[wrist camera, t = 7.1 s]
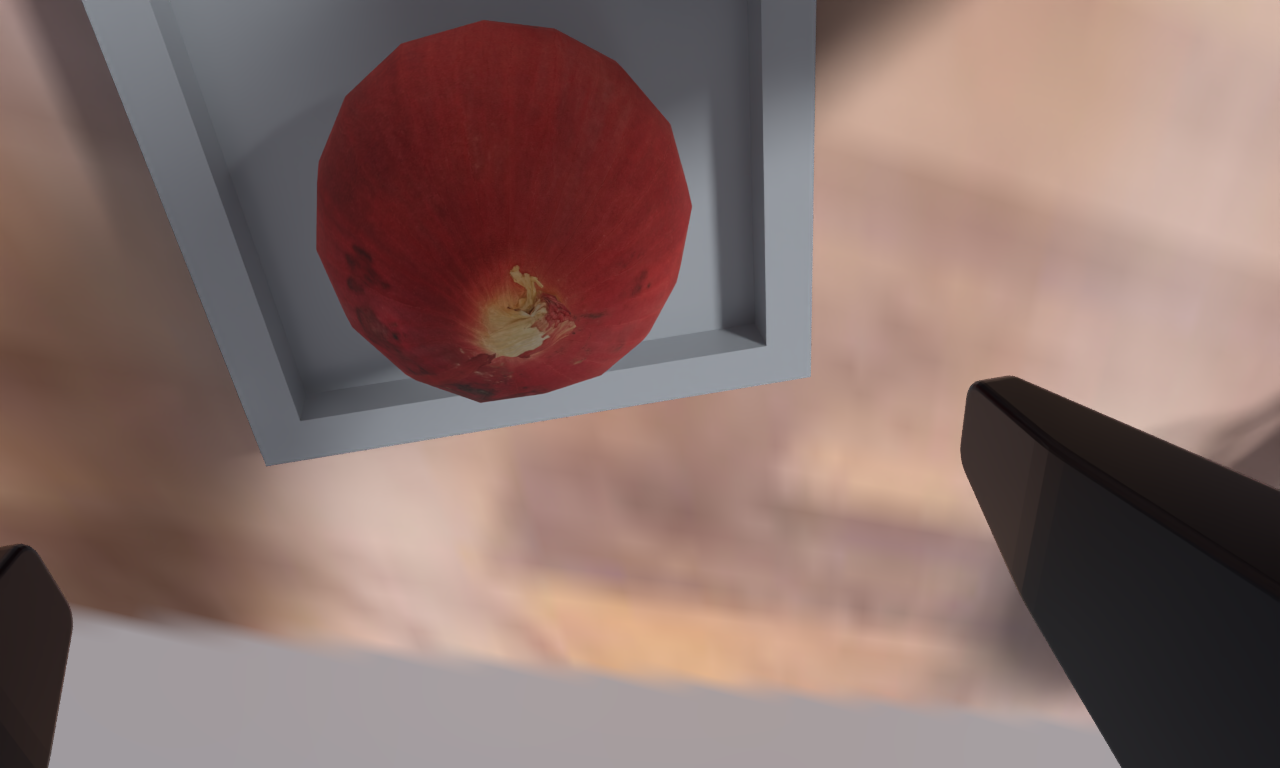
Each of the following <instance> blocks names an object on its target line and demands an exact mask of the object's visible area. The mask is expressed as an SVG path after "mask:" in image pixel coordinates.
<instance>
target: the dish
mask: <svg viewBox="0 0 1280 768" xmlns="http://www.w3.org/2000/svg"><path fill="white" fill-rule="evenodd" d="M82 3H83V5H84V8H85V10H86V13H87V15H88V18H89V20H90V23H91V25H92V28H93V30H94V33H95V35H96V38H97V40H98V43H99V46H100V48H101V51H102V53H103V56H104V58H105V61H106V63H107V66H108V68H109V71H110V73H111V76H112V78H113V81H114V83H115V86H116V88H117V91H118V93H119V96H120V98H121V101H122V103H123V106H124V109H125V111H126V114H127V116H128V119H129V121H130V124H131V126H132V129H133V131H134V134H135V136H136V139H137V141H138V144H139V146H140V149H141V151H142V154H143V156H144V159H145V161H146V164H147V167H148V169H149V172H150V174H151V177H152V179H153V182H154V184H155V187H156V189H157V192H158V194H159V197H160V199H161V202H162V204H163V207H164V209H165V212H166V214H167V217H168V219H169V222H170V225H171V227H172V230H173V232H174V235H175V237H176V240H177V242H178V245H179V247H180V250H181V252H182V255H183V257H184V260H185V262H186V265H187V267H188V270H189V272H190V275H191V277H192V280H193V282H194V285H195V288H196V290H197V293H198V295H199V298H200V300H201V303H202V305H203V308H204V310H205V313H206V315H207V318H208V320H209V323H210V325H211V328H212V330H213V333H214V335H215V338H216V340H217V343H218V346H219V348H220V351H221V353H222V356H223V358H224V361H225V363H226V366H227V368H228V371H229V373H230V376H231V378H232V381H233V383H234V386H235V388H236V391H237V393H238V396H239V398H240V401H241V404H242V406H243V409H244V411H245V414H246V416H247V419H248V421H249V424H250V426H251V429H252V431H253V434H254V436H255V439H256V441H257V444H258V446H259V449H260V451H261V454H262V456H263V459H264V462H265V464H266V466H271V465H277V464H283V463H289V462H295V461H301V460H307V459H314V458H320V457H326V456H332V455H338V454H344V453H350V452H356V451H362V450H368V449H374V448H380V447H387V446H393V445H399V444H405V443H411V442H417V441H423V440H429V439H435V438H441V437H447V436H453V435H460V434H466V433H472V432H478V431H484V430H490V429H496V428H502V427H508V426H514V425H520V424H526V423H533V422H539V421H545V420H551V419H557V418H563V417H569V416H575V415H581V414H587V413H593V412H599V411H606V410H612V409H618V408H624V407H630V406H636V405H642V404H648V403H654V402H660V401H666V400H673V399H679V398H685V397H691V396H697V395H703V394H709V393H715V392H721V391H727V390H733V389H739V388H746V387H752V386H758V385H764V384H770V383H776V382H782V381H788V380H794V379H800V378H806V377H811V317H812V252H813V187H814V122H815V57H816V0H82ZM481 20H489V21H497V22H505V23H514V24H522V25H530V26H539V27H547V28H555V29H557V30H559V31H560V32H562V33H564V34H566V35H568V36H570V37H572V38H574V39H575V40H577V41H579V42H581V43H583V44H585V45H587V46H589V47H590V48H592V49H594V50H596V51H598V52H600V53H602V54H604V55H605V56H607V57H609V58H611V59H613V60H615V61H616V62H617V63H618V64H619V65H620V66H621V67H622V68H623V69H624V70H625V71H626V72H627V74H628V75H629V76H630V77H631V78H632V79H633V81H634V82H635V83H636V84H637V85H638V87H639V88H640V89H641V90H642V91H643V92H644V94H645V95H646V96H647V97H648V98H649V99H650V101H651V102H652V103H653V104H654V105H655V106H656V108H657V109H658V110H659V111H660V112H661V114H662V115H663V116H664V117H665V118H666V119H667V121H668V122H669V123H670V124H671V128H672V132H673V135H674V139H675V142H676V146H677V150H678V153H679V157H680V161H681V164H682V168H683V171H684V175H685V179H686V182H687V186H688V190H689V194H690V199H691V203H692V210H691V215H690V220H689V225H688V231H687V236H686V241H685V246H684V251H683V256H682V261H681V267H680V271H679V275H678V279H677V283H676V284H675V286H674V288H673V290H672V292H671V294H670V296H669V297H668V299H667V301H666V303H665V305H664V307H663V308H662V310H661V312H660V314H659V316H658V318H657V319H656V321H655V323H654V325H653V327H652V329H651V330H650V332H649V334H648V335H647V336H646V337H645V339H644V340H643V341H642V342H641V343H639V344H638V345H637V346H636V347H635V348H633V349H632V350H631V351H630V352H629V353H627V354H626V355H625V356H624V357H623V358H621V359H620V360H619V361H618V362H617V363H615V364H614V365H613V366H612V367H611V368H609V369H608V370H607V371H606V372H604V373H603V374H602V375H601V376H598V377H595V378H592V379H588V380H585V381H582V382H579V383H576V384H573V385H570V386H567V387H564V388H561V389H558V390H554V391H551V392H548V393H545V394H539V395H532V396H525V397H518V398H511V399H504V400H497V401H490V402H483V403H479V402H476V401H473V400H471V399H468V398H465V397H462V396H459V395H456V394H453V393H451V392H448V391H445V390H442V389H439V388H436V387H433V386H430V385H428V384H425V383H422V382H419V381H416V380H414V379H413V378H411V377H409V376H407V375H406V374H405V373H403V372H402V371H401V370H400V369H399V368H398V367H397V366H395V365H394V364H393V363H392V362H391V361H390V360H389V359H388V358H386V357H385V356H384V355H383V354H382V353H381V352H380V351H378V350H377V349H376V348H375V347H374V346H373V345H372V344H371V343H369V342H368V341H367V340H366V339H365V338H364V337H363V336H361V335H360V334H359V333H358V332H357V331H356V330H355V329H354V328H352V326H351V324H350V322H349V320H348V318H347V317H346V315H345V313H344V311H343V308H342V306H341V304H340V302H339V299H338V297H337V295H336V293H335V290H334V288H333V286H332V284H331V282H330V279H329V277H328V275H327V273H326V270H325V268H324V266H323V264H322V261H321V259H320V257H319V255H318V253H317V250H316V224H317V176H318V164H319V160H320V157H321V155H322V152H323V150H324V147H325V145H326V142H327V140H328V137H329V135H330V133H331V130H332V128H333V125H334V123H335V120H336V118H337V115H338V113H339V110H340V108H341V105H342V103H343V100H344V98H345V96H346V95H347V94H348V93H349V92H350V91H351V90H352V89H354V88H355V87H356V86H357V85H358V84H359V83H360V82H361V81H362V80H363V79H364V78H365V77H366V76H367V75H368V74H369V73H370V72H372V71H373V70H374V69H375V68H376V67H377V66H378V65H379V64H380V63H381V62H382V61H383V60H384V59H385V58H386V57H387V56H388V55H390V54H391V53H392V52H393V51H394V50H395V49H396V48H397V47H398V46H399V45H400V44H401V43H405V42H408V41H412V40H415V39H418V38H422V37H425V36H429V35H432V34H436V33H439V32H443V31H446V30H450V29H453V28H457V27H460V26H464V25H467V24H471V23H474V22H478V21H481Z"/></svg>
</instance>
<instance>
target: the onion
mask: <svg viewBox="0 0 1280 768" xmlns="http://www.w3.org/2000/svg"><path fill="white" fill-rule="evenodd" d="M691 210H692V203H691V199H690V194H689V190H688V186H687V182H686V179H685V175H684V171H683V168H682V164H681V161H680V157H679V153H678V150H677V146H676V142H675V139H674V135H673V132H672V128H671V124H670V123H669V122H668V121H667V119H666V118H665V117H664V116H663V115H662V114H661V112H660V111H659V110H658V109H657V108H656V106H655V105H654V104H653V103H652V102H651V101H650V99H649V98H648V97H647V96H646V95H645V94H644V92H643V91H642V90H641V89H640V88H639V87H638V85H637V84H636V83H635V82H634V81H633V79H632V78H631V77H630V76H629V75H628V74H627V72H626V71H625V70H624V69H623V68H622V67H621V66H620V65H619V64H618V63H617V62H616V61H615V60H613V59H611V58H609V57H607V56H605V55H604V54H602V53H600V52H598V51H596V50H594V49H592V48H590V47H589V46H587V45H585V44H583V43H581V42H579V41H577V40H575V39H574V38H572V37H570V36H568V35H566V34H564V33H562V32H560V31H559V30H557V29H555V28H547V27H539V26H530V25H522V24H514V23H505V22H497V21H489V20H481V21H478V22H474V23H471V24H467V25H464V26H460V27H457V28H453V29H450V30H446V31H443V32H439V33H436V34H432V35H429V36H425V37H422V38H418V39H415V40H412V41H408V42H405V43H401V44H400V45H399V46H398V47H397V48H396V49H395V50H394V51H393V52H392V53H391V54H390V55H388V56H387V57H386V58H385V59H384V60H383V61H382V62H381V63H380V64H379V65H378V66H377V67H376V68H375V69H374V70H373V71H372V72H370V73H369V74H368V75H367V76H366V77H365V78H364V79H363V80H362V81H361V82H360V83H359V84H358V85H357V86H356V87H355V88H354V89H352V90H351V91H350V92H349V93H348V94H347V95H346V96H345V98H344V100H343V103H342V105H341V108H340V110H339V113H338V115H337V118H336V120H335V123H334V125H333V128H332V130H331V133H330V135H329V137H328V140H327V142H326V145H325V147H324V150H323V152H322V155H321V157H320V160H319V164H318V176H317V224H316V250H317V253H318V255H319V257H320V259H321V261H322V264H323V266H324V268H325V270H326V273H327V275H328V277H329V279H330V282H331V284H332V286H333V288H334V290H335V293H336V295H337V297H338V299H339V302H340V304H341V306H342V308H343V311H344V313H345V315H346V317H347V318H348V320H349V322H350V324H351V326H352V328H354V329H355V330H356V331H357V332H358V333H359V334H360V335H361V336H363V337H364V338H365V339H366V340H367V341H368V342H369V343H371V344H372V345H373V346H374V347H375V348H376V349H377V350H378V351H380V352H381V353H382V354H383V355H384V356H385V357H386V358H388V359H389V360H390V361H391V362H392V363H393V364H394V365H395V366H397V367H398V368H399V369H400V370H401V371H402V372H403V373H405V374H406V375H407V376H409V377H411V378H413V379H414V380H416V381H419V382H422V383H425V384H428V385H430V386H433V387H436V388H439V389H442V390H445V391H448V392H451V393H453V394H456V395H459V396H462V397H465V398H468V399H471V400H473V401H476V402H479V403H483V402H490V401H497V400H504V399H511V398H518V397H525V396H532V395H539V394H545V393H548V392H551V391H554V390H558V389H561V388H564V387H567V386H570V385H573V384H576V383H579V382H582V381H585V380H588V379H592V378H595V377H598V376H601V375H602V374H603V373H604V372H606V371H607V370H608V369H609V368H611V367H612V366H613V365H614V364H615V363H617V362H618V361H619V360H620V359H621V358H623V357H624V356H625V355H626V354H627V353H629V352H630V351H631V350H632V349H633V348H635V347H636V346H637V345H638V344H639V343H641V342H642V341H643V340H644V339H645V337H646V336H647V335H648V334H649V332H650V330H651V329H652V327H653V325H654V323H655V321H656V319H657V318H658V316H659V314H660V312H661V310H662V308H663V307H664V305H665V303H666V301H667V299H668V297H669V296H670V294H671V292H672V290H673V288H674V286H675V284H676V283H677V279H678V275H679V271H680V267H681V261H682V256H683V251H684V246H685V241H686V236H687V231H688V225H689V220H690V215H691Z"/></svg>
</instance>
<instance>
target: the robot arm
mask: <svg viewBox="0 0 1280 768" xmlns="http://www.w3.org/2000/svg"><path fill="white" fill-rule="evenodd" d="M960 451H961V460H962V464H963V468H964V471H965V473H966V475H967V478H968V480H969V482H970V484H971V487H972V489H973V491H974V493H975V496H976V498H977V500H978V502H979V505H980V507H981V509H982V511H983V514H984V516H985V518H986V520H987V523H988V525H989V527H990V529H991V532H992V534H993V536H994V539H995V541H996V543H997V545H998V548H999V550H1000V552H1001V554H1002V557H1003V559H1004V561H1005V563H1006V566H1007V568H1008V570H1009V572H1010V575H1011V577H1012V579H1013V581H1014V583H1015V585H1016V587H1017V589H1018V591H1019V593H1020V595H1021V597H1022V599H1023V601H1024V603H1025V605H1026V606H1027V608H1028V610H1029V612H1030V614H1031V615H1032V617H1033V619H1034V621H1035V622H1036V624H1037V626H1038V627H1039V629H1040V631H1041V632H1042V634H1043V636H1044V637H1045V639H1046V641H1047V642H1048V644H1049V646H1050V648H1051V649H1052V651H1053V653H1054V654H1055V656H1056V658H1057V659H1058V661H1059V663H1060V665H1061V666H1062V668H1063V670H1064V671H1065V673H1066V675H1067V676H1068V678H1069V680H1070V681H1071V683H1072V685H1073V687H1074V688H1075V690H1076V692H1077V693H1078V695H1079V697H1080V698H1081V700H1082V702H1083V703H1084V705H1085V707H1086V709H1087V710H1088V712H1089V714H1090V715H1091V717H1092V719H1093V720H1094V722H1095V724H1096V725H1097V727H1098V729H1099V731H1100V732H1101V734H1102V736H1103V737H1104V739H1105V741H1106V742H1107V744H1108V746H1109V747H1110V749H1111V751H1112V753H1113V754H1114V756H1115V758H1116V759H1117V761H1118V763H1119V764H1120V766H1121V768H1280V490H1278V489H1276V488H1274V487H1271V486H1269V485H1267V484H1264V483H1262V482H1260V481H1257V480H1255V479H1253V478H1250V477H1248V476H1246V475H1243V474H1241V473H1239V472H1236V471H1234V470H1232V469H1229V468H1227V467H1225V466H1222V465H1220V464H1218V463H1215V462H1213V461H1211V460H1208V459H1206V458H1204V457H1202V456H1199V455H1197V454H1195V453H1192V452H1190V451H1188V450H1185V449H1183V448H1181V447H1178V446H1176V445H1174V444H1171V443H1169V442H1167V441H1164V440H1162V439H1160V438H1157V437H1155V436H1153V435H1150V434H1148V433H1146V432H1143V431H1141V430H1139V429H1137V428H1134V427H1132V426H1130V425H1127V424H1125V423H1123V422H1120V421H1118V420H1116V419H1113V418H1111V417H1109V416H1106V415H1104V414H1102V413H1099V412H1097V411H1095V410H1092V409H1090V408H1088V407H1085V406H1083V405H1081V404H1078V403H1076V402H1074V401H1071V400H1069V399H1067V398H1065V397H1062V396H1060V395H1058V394H1055V393H1053V392H1051V391H1048V390H1046V389H1044V388H1041V387H1039V386H1037V385H1034V384H1032V383H1030V382H1027V381H1025V380H1023V379H1020V378H1018V377H1015V376H1003V377H997V378H991V379H985V380H979V381H976V382H975V383H973V384H972V385H971V386H970V388H969V390H968V393H967V397H966V406H965V414H964V422H963V430H962V438H961V448H960ZM72 629H73V619H72V612H71V609H70V606H69V604H68V602H67V600H66V598H65V597H64V595H63V593H62V592H61V590H60V588H59V587H58V585H57V584H56V582H55V580H54V579H53V577H52V575H51V574H50V572H49V571H48V569H47V567H46V566H45V564H44V562H43V561H42V559H41V557H40V556H39V555H38V553H37V552H36V551H35V550H34V549H33V548H32V547H30V546H28V545H24V544H15V545H9V546H3V547H0V768H48V765H49V760H50V756H51V750H52V744H53V738H54V733H55V727H56V721H57V716H58V710H59V704H60V699H61V693H62V687H63V682H64V676H65V670H66V664H67V659H68V653H69V647H70V642H71V636H72Z"/></svg>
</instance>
